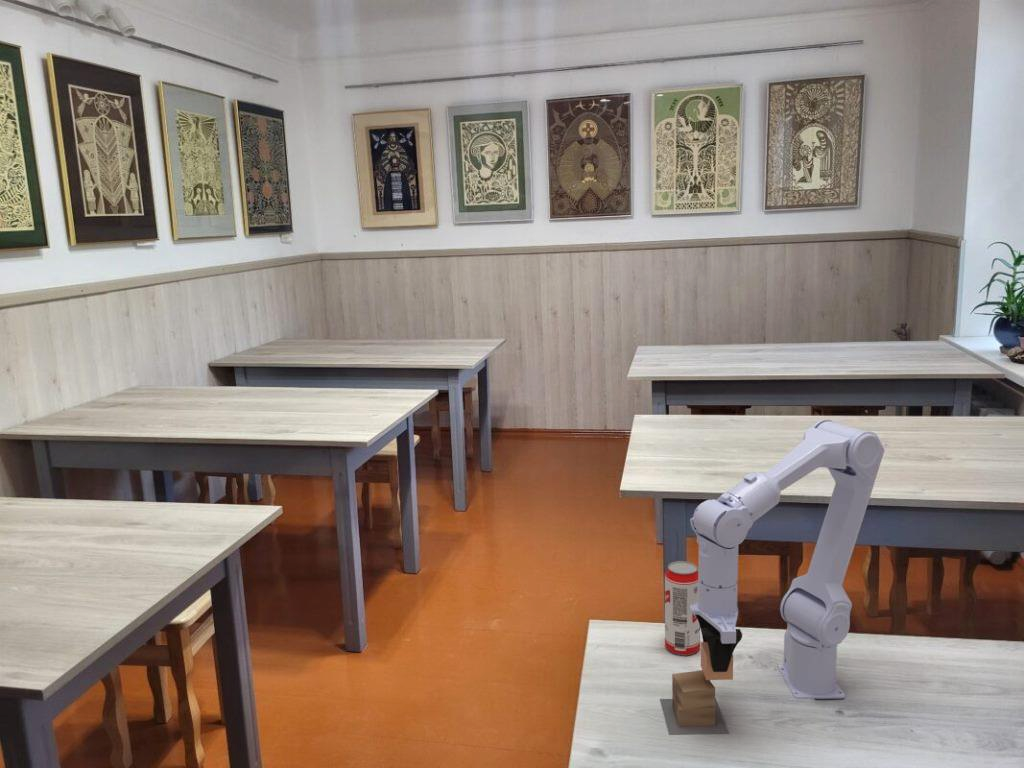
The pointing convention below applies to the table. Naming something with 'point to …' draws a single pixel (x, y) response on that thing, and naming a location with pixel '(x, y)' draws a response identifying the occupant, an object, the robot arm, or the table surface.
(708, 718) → the slab bottom
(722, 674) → the cube
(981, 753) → the table surface
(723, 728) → the mat
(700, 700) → the slab top
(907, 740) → the table surface
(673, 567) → the beer can
